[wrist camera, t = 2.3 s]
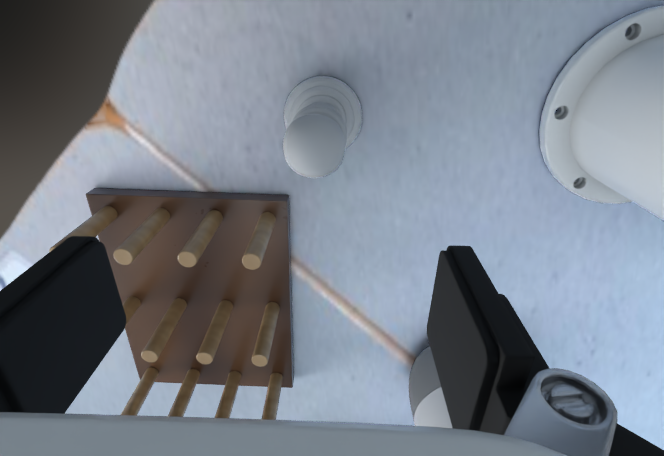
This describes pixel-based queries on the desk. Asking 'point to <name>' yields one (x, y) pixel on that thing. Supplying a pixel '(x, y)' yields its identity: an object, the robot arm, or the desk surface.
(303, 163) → the chess piece
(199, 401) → the desk surface
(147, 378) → the plate rack
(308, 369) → the desk surface
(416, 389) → the smart speaker
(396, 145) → the desk surface
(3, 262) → the desk surface
